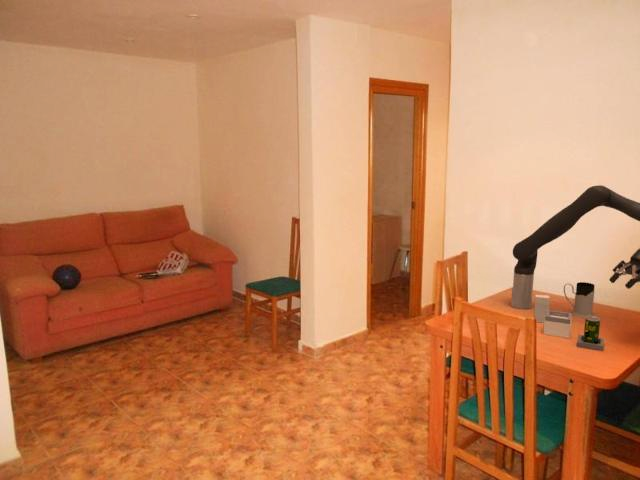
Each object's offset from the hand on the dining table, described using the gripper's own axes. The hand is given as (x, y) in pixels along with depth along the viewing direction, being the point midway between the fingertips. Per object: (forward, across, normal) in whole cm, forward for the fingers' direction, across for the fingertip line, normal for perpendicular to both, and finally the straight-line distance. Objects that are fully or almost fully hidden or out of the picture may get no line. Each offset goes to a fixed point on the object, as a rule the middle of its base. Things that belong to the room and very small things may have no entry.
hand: (618, 284), depth 209 cm
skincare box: (+27, -29, +8) cm, 41 cm away
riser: (+28, -15, +7) cm, 32 cm away
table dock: (+25, 0, +10) cm, 27 cm away
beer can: (+25, 0, +10) cm, 27 cm away
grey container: (+10, -36, +25) cm, 45 cm away
